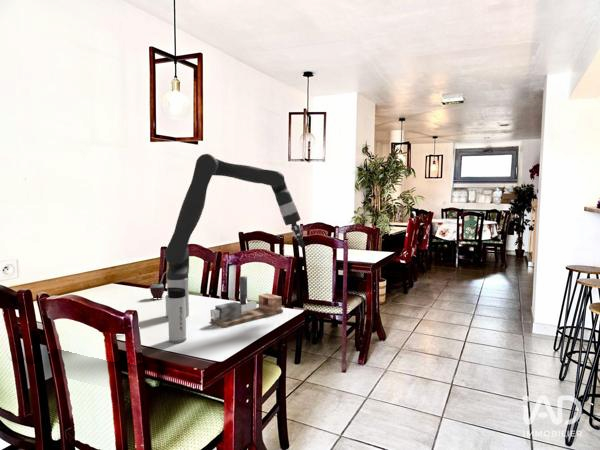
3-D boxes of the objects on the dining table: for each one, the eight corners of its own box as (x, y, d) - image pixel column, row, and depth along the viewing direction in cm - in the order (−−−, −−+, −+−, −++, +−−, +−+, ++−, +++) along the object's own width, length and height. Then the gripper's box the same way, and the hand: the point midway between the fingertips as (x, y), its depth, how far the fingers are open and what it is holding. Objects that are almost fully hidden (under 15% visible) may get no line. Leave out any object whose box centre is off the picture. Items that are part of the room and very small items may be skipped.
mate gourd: (147, 299, 214) (147, 271, 213) (158, 296, 221) (157, 269, 220) (158, 300, 211) (158, 272, 210) (169, 297, 218) (168, 270, 218)
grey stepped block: (214, 318, 167) (214, 282, 166) (210, 316, 169) (209, 281, 168) (256, 308, 182) (256, 275, 181) (252, 307, 185) (251, 274, 184)
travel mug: (170, 337, 154) (169, 286, 152) (187, 337, 154) (186, 285, 153) (166, 343, 147) (164, 289, 146) (184, 343, 148) (183, 289, 147)
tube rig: (225, 327, 166) (224, 309, 166) (210, 321, 174) (210, 304, 174) (282, 312, 188) (282, 296, 188) (267, 308, 196) (267, 292, 196)
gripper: (281, 215, 191) (293, 247, 193) (282, 216, 177) (295, 250, 178) (296, 209, 192) (308, 241, 193) (298, 210, 177) (311, 244, 179)
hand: (302, 245), depth 186 cm, fingers open, 8 cm apart
